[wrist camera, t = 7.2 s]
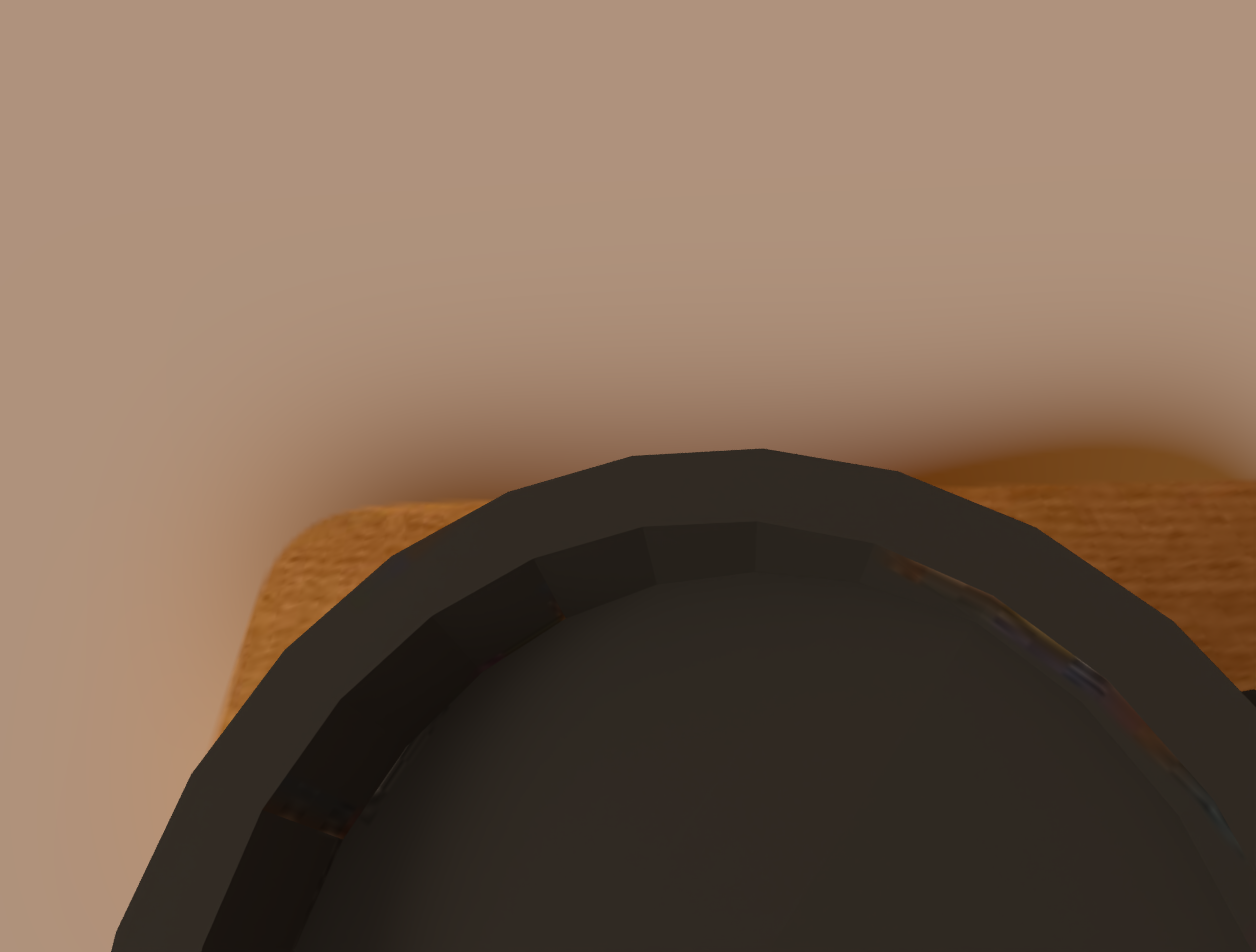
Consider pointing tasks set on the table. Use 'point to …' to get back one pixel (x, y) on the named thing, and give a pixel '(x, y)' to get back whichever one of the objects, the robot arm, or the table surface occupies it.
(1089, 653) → the coffee cup
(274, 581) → the table surface
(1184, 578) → the table surface
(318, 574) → the table surface
